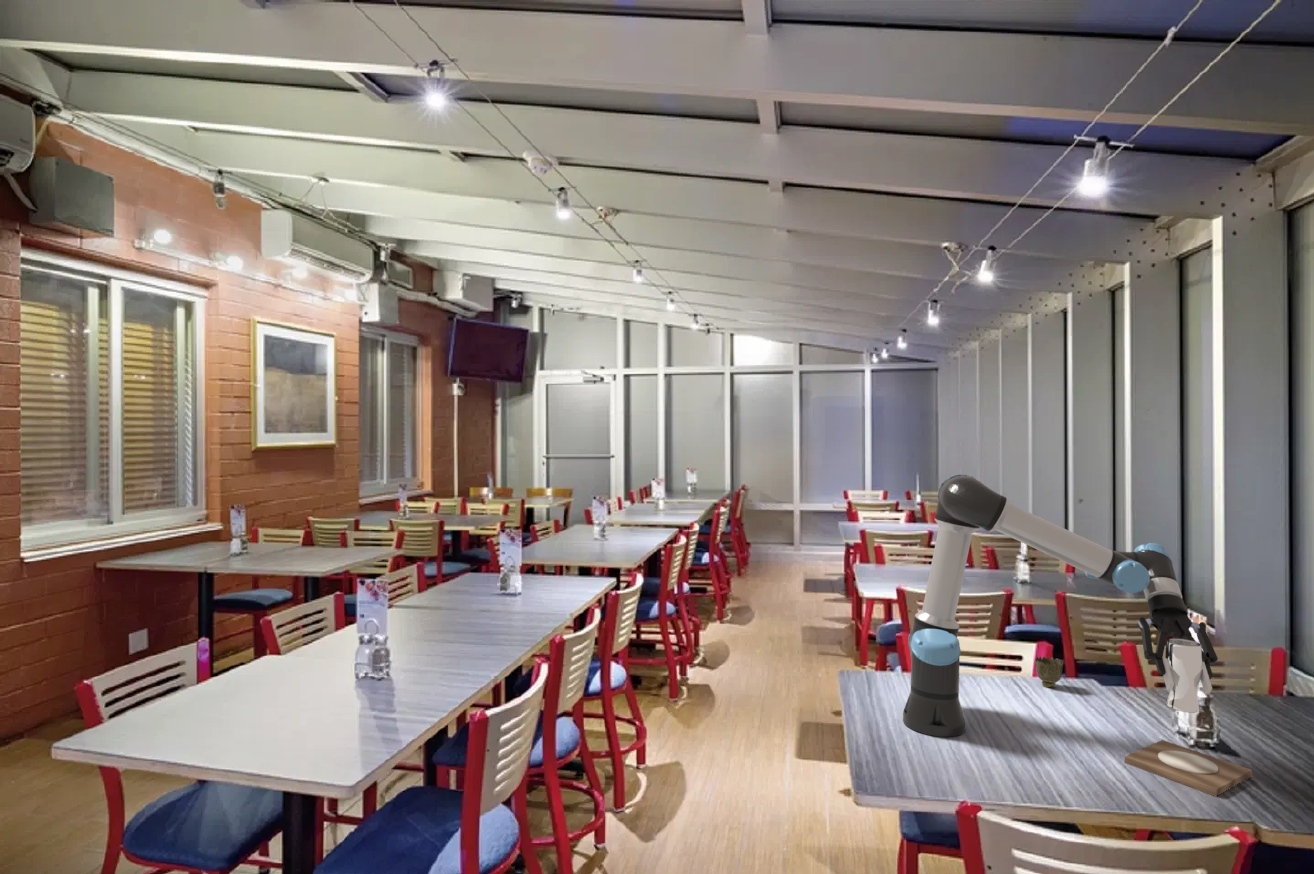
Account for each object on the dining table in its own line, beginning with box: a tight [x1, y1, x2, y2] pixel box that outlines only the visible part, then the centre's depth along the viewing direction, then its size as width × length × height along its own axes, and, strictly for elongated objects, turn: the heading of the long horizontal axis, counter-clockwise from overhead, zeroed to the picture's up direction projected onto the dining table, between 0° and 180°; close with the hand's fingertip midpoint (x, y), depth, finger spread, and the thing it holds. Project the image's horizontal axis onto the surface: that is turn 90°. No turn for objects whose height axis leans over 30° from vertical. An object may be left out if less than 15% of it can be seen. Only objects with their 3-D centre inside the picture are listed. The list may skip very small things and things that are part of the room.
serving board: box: [1124, 739, 1253, 797], centre depth 165 cm, size 18×18×2 cm
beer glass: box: [1164, 638, 1203, 714], centre depth 166 cm, size 7×7×15 cm
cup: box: [1034, 656, 1064, 689], centre depth 219 cm, size 8×7×8 cm
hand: (1189, 689), depth 163 cm, fingers closed on beer glass, 6 cm apart
